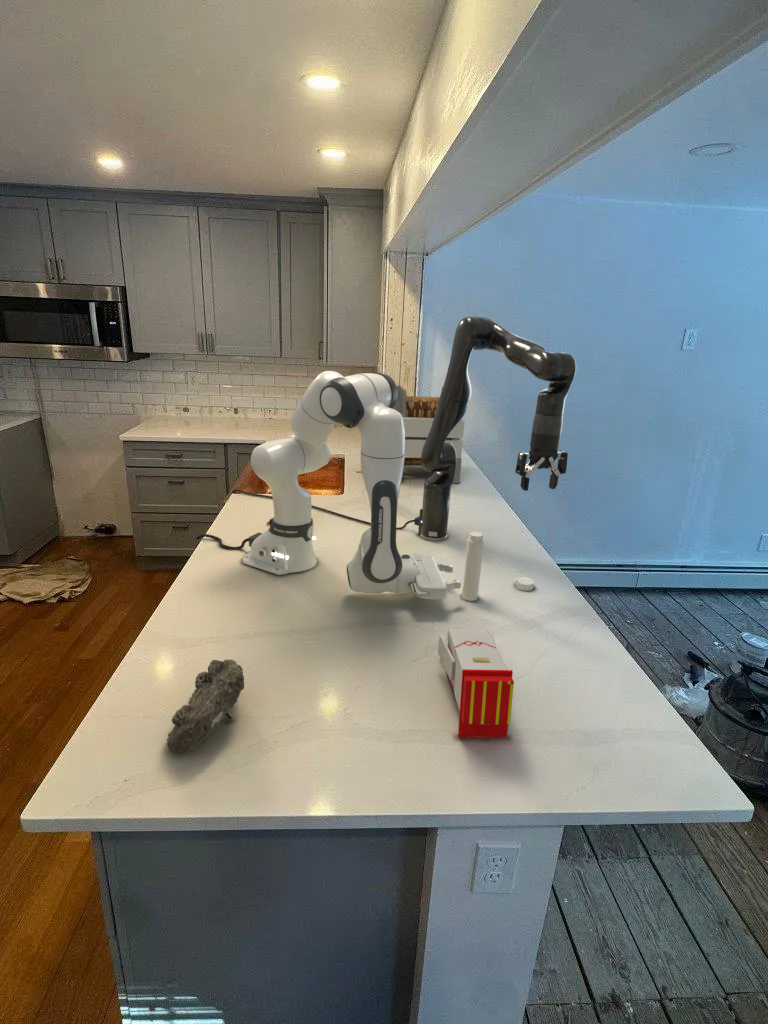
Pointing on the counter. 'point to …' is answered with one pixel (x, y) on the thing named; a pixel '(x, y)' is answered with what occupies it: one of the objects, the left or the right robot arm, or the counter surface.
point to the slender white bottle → (473, 566)
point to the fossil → (206, 705)
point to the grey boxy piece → (424, 428)
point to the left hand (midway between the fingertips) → (456, 576)
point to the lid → (525, 583)
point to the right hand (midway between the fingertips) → (538, 489)
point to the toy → (478, 682)
